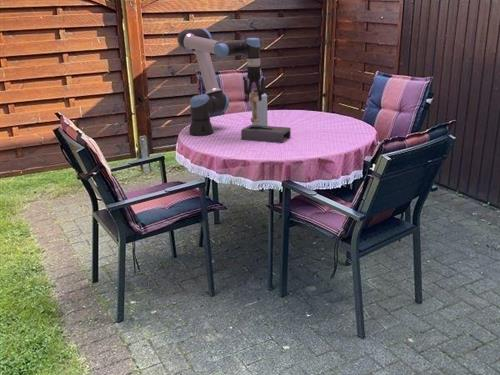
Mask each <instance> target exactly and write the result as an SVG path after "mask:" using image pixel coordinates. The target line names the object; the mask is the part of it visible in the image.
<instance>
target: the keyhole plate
mask: <svg viewBox="0 0 500 375" xmlns="http://www.w3.org/2000/svg"><path fill="white" fill-rule="evenodd" d="M291 128H292V127H288V126H287V127H285V126H284V127H283V126H274V125H273V126H272V125H268V126H260V125H252V124H249V125H247V126H246V127H244V128H241V130H240V132H241V133H240V134H241V140H242V141H244V140H245V141H252V142H254V141H255V142H263V141H265V143H274V142H276V143H277V144H283V143H284V139H291V137H292V136H291V134H292V133H291V131H292V130H291Z"/></svg>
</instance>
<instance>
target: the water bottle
mask: <svg viewBox="0 0 500 375" xmlns="http://www.w3.org/2000/svg"><path fill="white" fill-rule="evenodd" d="M253 92H258V91H257V88H254V89H253ZM256 105H257V102H256ZM257 117H258V118H259V122H251V125H260V126H269V124H268V95H267V94H266V93H265V94H263V95H262V100H261V101H260V107H257ZM251 118H253V102H252V106H251Z"/></svg>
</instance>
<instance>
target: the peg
mask: <svg viewBox="0 0 500 375" xmlns="http://www.w3.org/2000/svg"><path fill="white" fill-rule="evenodd" d="M249 96H250V102H253V118H252V117H250V122H251V123H252V122H259V118H258V117H257V105H256V102H257V96H258V92H254V91H251V93H249Z"/></svg>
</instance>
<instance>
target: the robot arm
mask: <svg viewBox="0 0 500 375" xmlns="http://www.w3.org/2000/svg"><path fill="white" fill-rule="evenodd" d="M260 40H261V39H260V38H259V37H248V38H246V41H244V40H243V41H241V40H236V41H231V42H229V41H228V42H225V41H220V40H215V39H213V37H212V35H211V32H210V31H208V29H206V28H190V29H188V28H187V29H184V30H183V29H182V30H181V31H180V32H179V33H178V35H177V44H178V46H180V48H182V49H184V50H185V49H186V50H191V51H192V53H193V54H194V55H195V57H196V59H197V63H198V67H199V71H200V73H201V74H200V75H201V79H202V82H203V86H204V88H205V92H204V94H197V95H194V96H192V97H191V98H190V101H189V102H190V103H189V106H190V117H191V122H190V126H189V129H188V130H189V131H188V132H189V135H190V136H194V137H196V136H197V137H202V136H203V137H204V136H209V135H212V134H214V128H213V125H212V122H211V115H215V114H222V113H225V112H226V111H227V110H228V108H229V106H230V99H229V97H228V95H227V94H226V93H224V92H223V90H222V89H221V88H220V86H219V83H218V80H217V75H216V72H215V68H214V65H213V62H212V57H211V54H213V55H215V56H216V57H218V58H225V57H231V56H240V55H241V56H243V55H244V56H246V60H247V62H246V64H247V75H246V76H243V77H242V79H243V89H244V90H243V92H244V93H243V94H244V95H246V96H247V101H248V106H249V107H252V102H250V96H249V93H252V89H253V84H254V83H255V87H256V89H257V91H258V96H257V107H260V101H261V100H262V95H263V94H266V93H265V91H266V88H265V86H266V85H265V84H266V83H265V80H266V77H265V76H262V74H261V41H260Z"/></svg>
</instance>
